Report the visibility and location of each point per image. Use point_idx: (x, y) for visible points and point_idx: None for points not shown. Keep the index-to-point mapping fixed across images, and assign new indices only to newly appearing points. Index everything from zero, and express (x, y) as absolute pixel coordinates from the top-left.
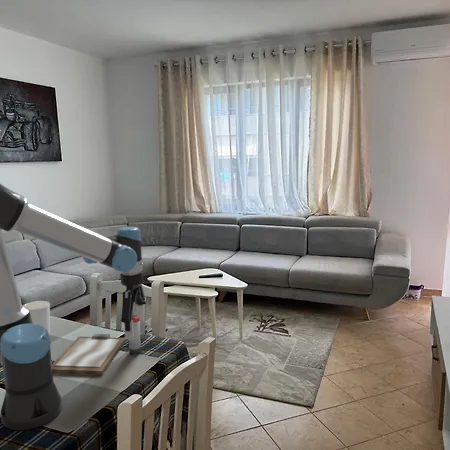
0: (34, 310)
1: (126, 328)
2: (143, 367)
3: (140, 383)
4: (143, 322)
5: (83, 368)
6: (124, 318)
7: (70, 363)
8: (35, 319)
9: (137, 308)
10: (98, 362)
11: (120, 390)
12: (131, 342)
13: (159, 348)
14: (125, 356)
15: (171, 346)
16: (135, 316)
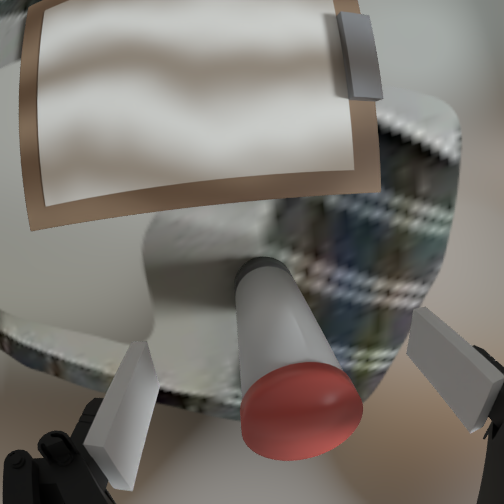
0: None
1: (86, 422)
2: None
3: (55, 374)
4: (407, 352)
5: (31, 136)
6: (34, 487)
7: (55, 55)
8: None
9: (474, 380)
10: (75, 177)
11: (6, 328)
12: (237, 309)
13: None
14: (212, 254)
15: None
16: (329, 428)
